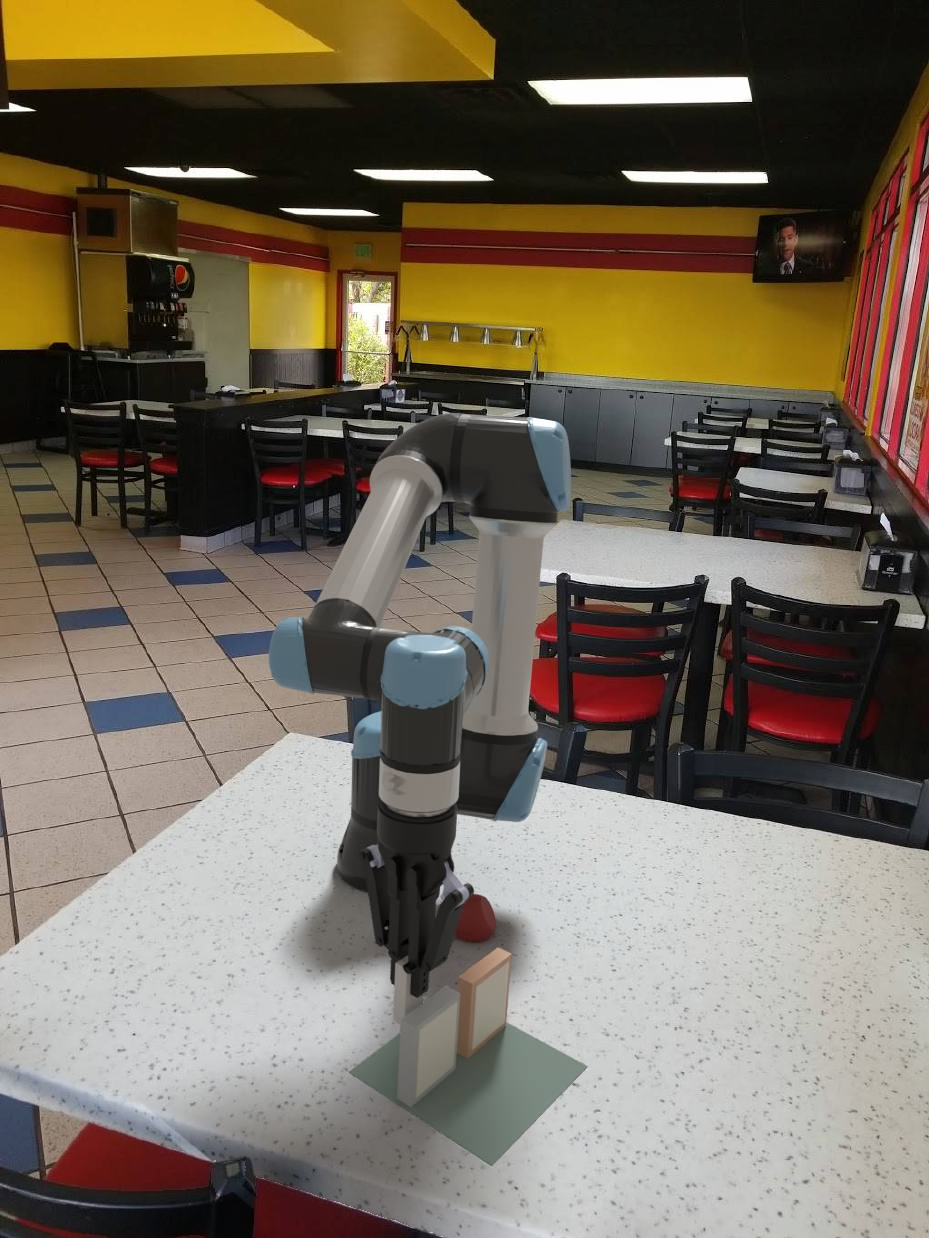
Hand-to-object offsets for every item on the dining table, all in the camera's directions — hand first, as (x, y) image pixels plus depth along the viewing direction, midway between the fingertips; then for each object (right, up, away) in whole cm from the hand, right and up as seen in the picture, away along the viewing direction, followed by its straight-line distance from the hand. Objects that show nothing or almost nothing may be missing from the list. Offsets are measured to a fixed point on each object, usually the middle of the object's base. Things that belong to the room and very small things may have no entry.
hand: (407, 1016), depth 96 cm
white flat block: (+2, -7, 0) cm, 7 cm away
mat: (+6, -7, +3) cm, 10 cm away
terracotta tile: (+7, -5, +7) cm, 12 cm away
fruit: (+6, -1, +27) cm, 28 cm away
